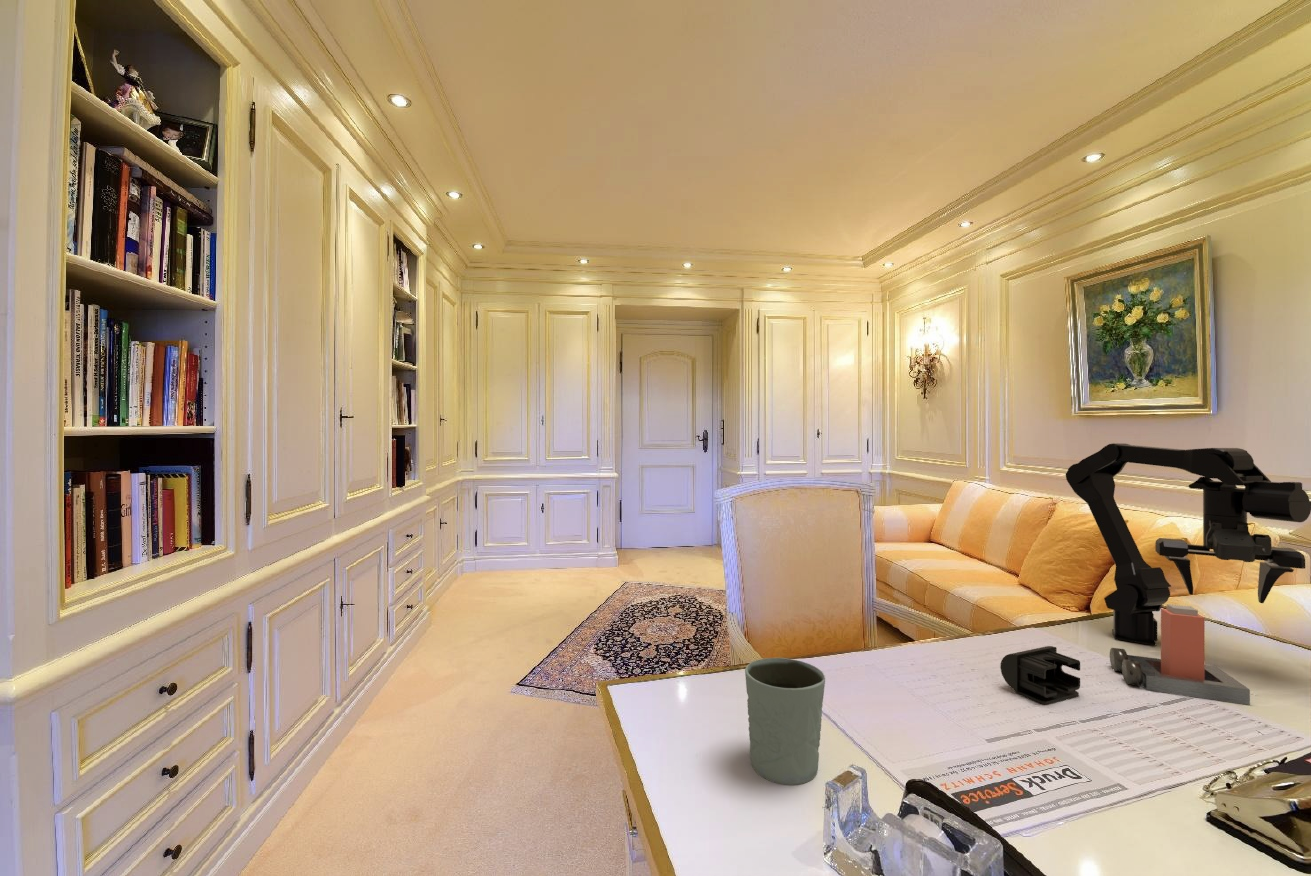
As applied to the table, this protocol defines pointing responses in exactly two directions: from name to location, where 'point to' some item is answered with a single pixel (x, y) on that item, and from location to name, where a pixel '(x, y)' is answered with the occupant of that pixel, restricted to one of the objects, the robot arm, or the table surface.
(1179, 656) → the reddish-brown tall block
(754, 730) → the grey cup
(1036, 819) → the table surface
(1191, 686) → the chassis
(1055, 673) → the end cap
